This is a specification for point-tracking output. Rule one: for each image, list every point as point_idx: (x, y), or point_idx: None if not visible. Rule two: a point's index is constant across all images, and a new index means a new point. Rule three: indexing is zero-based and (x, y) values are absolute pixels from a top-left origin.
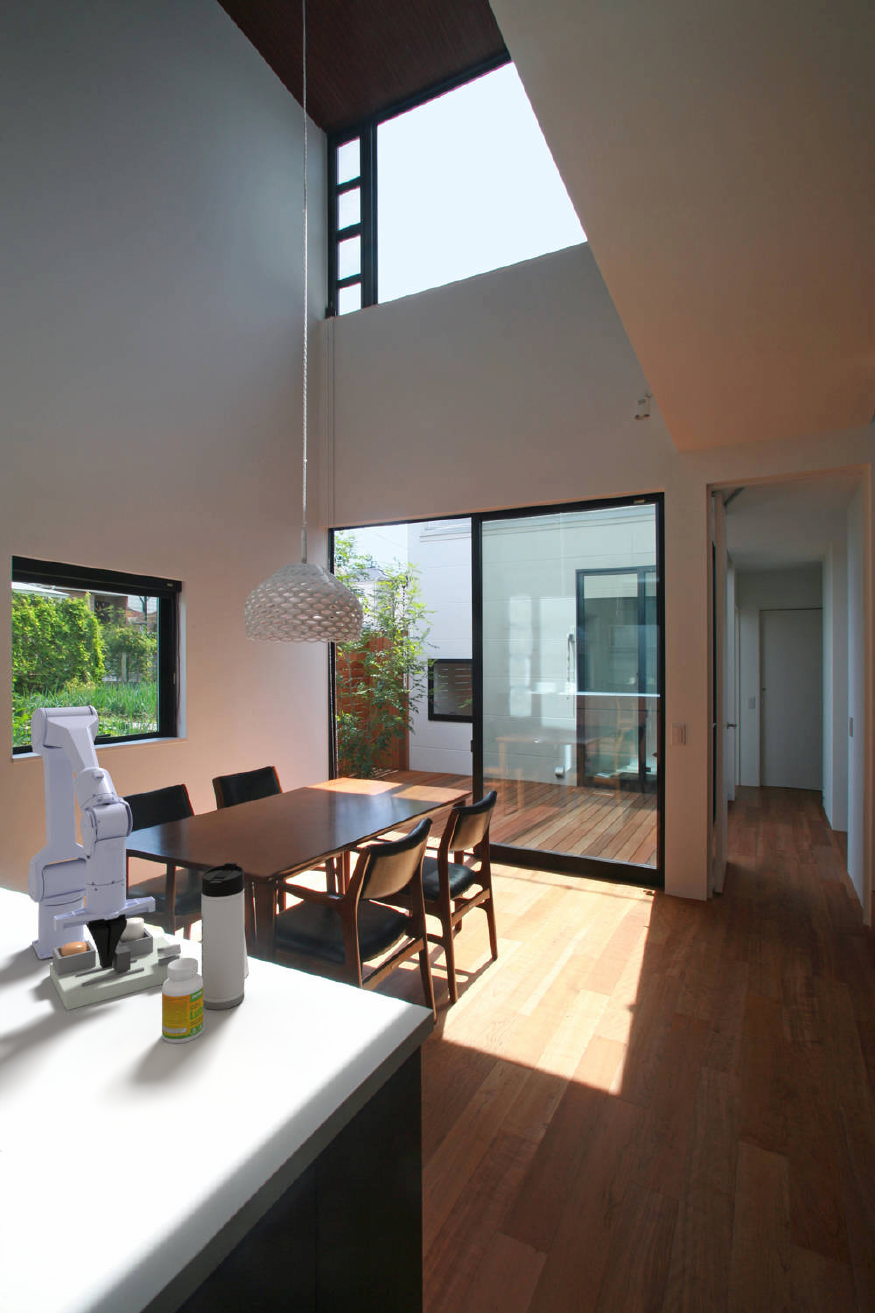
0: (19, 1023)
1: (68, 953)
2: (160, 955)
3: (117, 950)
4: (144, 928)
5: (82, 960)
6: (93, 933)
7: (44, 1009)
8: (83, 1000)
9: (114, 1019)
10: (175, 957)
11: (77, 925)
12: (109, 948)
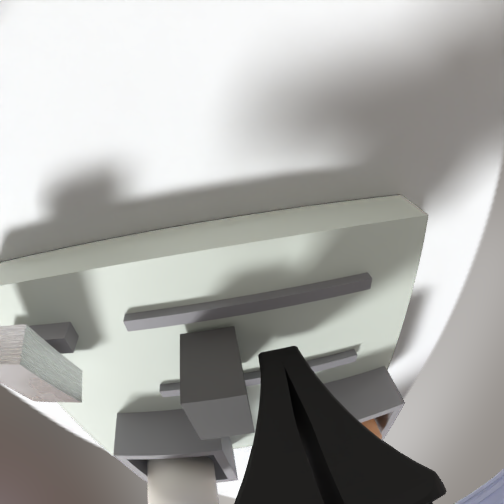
0: (485, 190)
1: (371, 426)
2: (60, 362)
3: (240, 419)
4: None
5: None
6: (438, 478)
7: (433, 238)
8: (363, 208)
9: (272, 12)
10: None
11: (471, 497)
12: (294, 421)
